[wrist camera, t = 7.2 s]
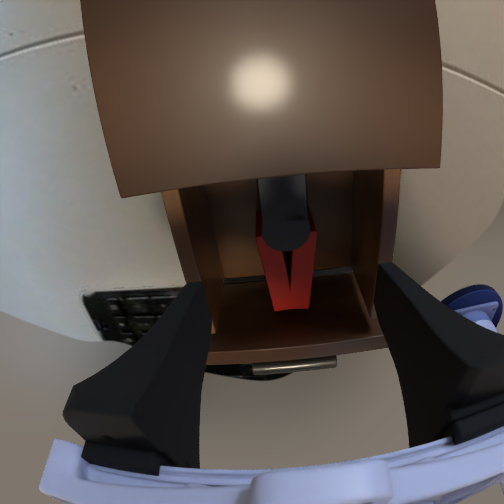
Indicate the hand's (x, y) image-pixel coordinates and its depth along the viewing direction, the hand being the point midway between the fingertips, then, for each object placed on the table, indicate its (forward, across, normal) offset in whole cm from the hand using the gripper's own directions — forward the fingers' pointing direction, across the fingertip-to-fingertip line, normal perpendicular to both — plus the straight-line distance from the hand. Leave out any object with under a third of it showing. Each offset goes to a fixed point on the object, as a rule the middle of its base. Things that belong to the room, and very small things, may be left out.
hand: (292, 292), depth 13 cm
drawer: (+8, 0, +2) cm, 8 cm away
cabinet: (+9, 0, -12) cm, 15 cm away
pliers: (+7, 0, 0) cm, 7 cm away
